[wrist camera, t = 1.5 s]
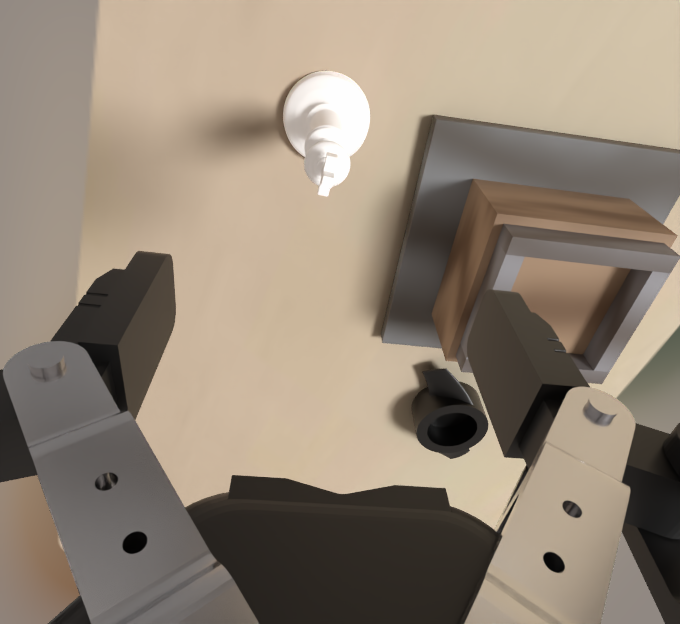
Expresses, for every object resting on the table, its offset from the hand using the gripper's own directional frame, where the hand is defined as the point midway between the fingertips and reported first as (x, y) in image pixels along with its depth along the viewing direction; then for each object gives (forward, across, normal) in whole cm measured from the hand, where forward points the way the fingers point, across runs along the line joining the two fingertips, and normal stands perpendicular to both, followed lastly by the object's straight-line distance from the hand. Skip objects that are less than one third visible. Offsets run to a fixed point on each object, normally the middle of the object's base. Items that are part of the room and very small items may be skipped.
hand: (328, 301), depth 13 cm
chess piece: (+19, 0, 0) cm, 19 cm away
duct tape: (+19, -13, +22) cm, 32 cm away
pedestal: (+18, -14, +7) cm, 24 cm away
